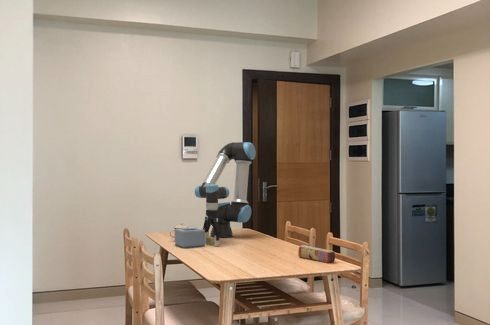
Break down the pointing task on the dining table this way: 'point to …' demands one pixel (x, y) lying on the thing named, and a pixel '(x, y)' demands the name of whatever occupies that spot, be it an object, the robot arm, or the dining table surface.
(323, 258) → the snack package
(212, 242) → the rectangular block
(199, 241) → the grey box with opening
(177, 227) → the teacup with lid
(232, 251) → the dining table surface
